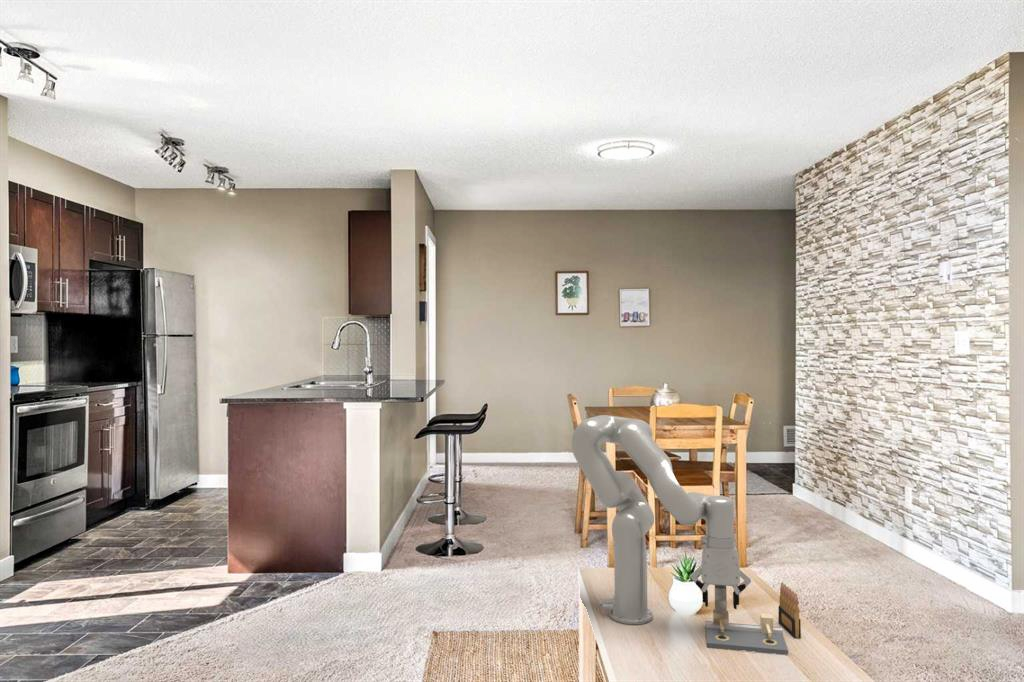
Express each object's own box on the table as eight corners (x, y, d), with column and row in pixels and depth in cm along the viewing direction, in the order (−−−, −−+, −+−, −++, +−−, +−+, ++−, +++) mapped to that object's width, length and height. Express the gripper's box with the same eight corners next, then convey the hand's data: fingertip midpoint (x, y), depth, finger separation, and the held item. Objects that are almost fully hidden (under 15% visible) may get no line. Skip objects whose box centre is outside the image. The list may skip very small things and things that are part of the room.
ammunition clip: (801, 638, 186) (800, 594, 186) (794, 638, 186) (793, 594, 186) (784, 622, 197) (784, 580, 197) (778, 623, 197) (777, 580, 197)
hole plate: (707, 647, 181) (706, 626, 181) (705, 625, 196) (705, 605, 196) (788, 655, 176) (788, 633, 176) (780, 631, 191) (780, 611, 191)
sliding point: (714, 635, 184) (714, 595, 184) (713, 622, 193) (712, 584, 193) (730, 636, 183) (729, 596, 183) (728, 623, 192) (727, 585, 192)
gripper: (687, 543, 190) (688, 608, 189) (754, 547, 185) (755, 614, 185) (687, 536, 197) (688, 598, 197) (751, 540, 193) (752, 604, 192)
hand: (720, 605), depth 191 cm, fingers open, 7 cm apart
